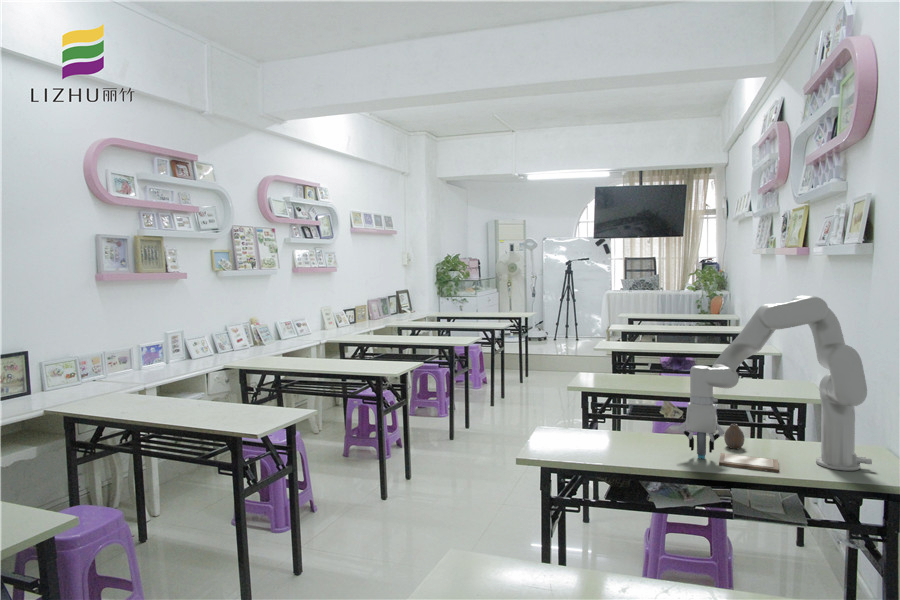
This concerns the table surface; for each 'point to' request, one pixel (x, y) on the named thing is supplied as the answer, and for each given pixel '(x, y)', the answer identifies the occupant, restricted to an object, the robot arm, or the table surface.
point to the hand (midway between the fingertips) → (701, 450)
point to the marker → (701, 445)
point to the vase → (734, 436)
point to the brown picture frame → (749, 462)
